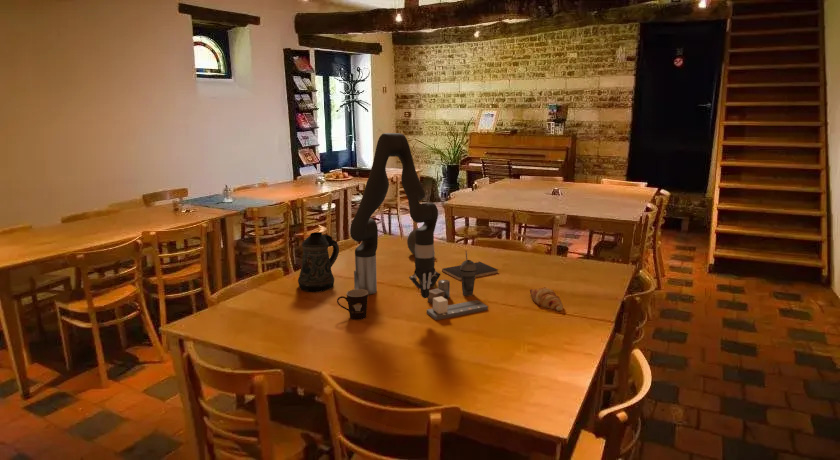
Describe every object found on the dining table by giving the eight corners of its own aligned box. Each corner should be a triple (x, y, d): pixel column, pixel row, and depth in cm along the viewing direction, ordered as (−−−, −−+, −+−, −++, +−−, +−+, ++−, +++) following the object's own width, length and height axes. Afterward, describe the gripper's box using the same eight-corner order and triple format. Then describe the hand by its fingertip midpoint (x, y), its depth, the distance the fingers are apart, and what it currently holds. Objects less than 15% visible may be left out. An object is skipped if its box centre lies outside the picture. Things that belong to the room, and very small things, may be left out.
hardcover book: (498, 274, 262) (498, 269, 261) (459, 281, 251) (459, 277, 250) (479, 265, 275) (479, 261, 275) (442, 272, 264) (442, 268, 264)
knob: (438, 314, 207) (438, 302, 206) (432, 309, 212) (432, 297, 210) (447, 312, 209) (447, 300, 208) (441, 307, 213) (441, 296, 212)
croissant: (566, 319, 215) (575, 301, 215) (550, 312, 210) (558, 294, 210) (534, 301, 234) (542, 284, 233) (518, 294, 229) (526, 277, 228)
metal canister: (441, 299, 227) (441, 284, 225) (436, 295, 231) (436, 280, 230) (451, 297, 229) (451, 282, 227) (445, 294, 233) (446, 279, 232)
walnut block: (435, 305, 221) (435, 294, 220) (427, 302, 224) (427, 291, 223) (444, 302, 224) (444, 291, 223) (436, 299, 228) (436, 288, 226)
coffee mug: (372, 314, 212) (372, 290, 209) (363, 322, 204) (362, 298, 201) (346, 310, 215) (345, 287, 213) (336, 318, 207) (335, 294, 205)
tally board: (435, 320, 205) (435, 316, 205) (426, 313, 212) (426, 309, 212) (487, 309, 216) (487, 306, 215) (477, 303, 223) (477, 299, 222)
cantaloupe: (405, 258, 287) (404, 231, 283) (409, 250, 300) (409, 225, 297) (430, 259, 284) (430, 232, 281) (434, 252, 298) (434, 226, 294)
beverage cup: (475, 297, 229) (476, 253, 224) (458, 296, 230) (459, 252, 226) (476, 291, 236) (477, 248, 231) (460, 290, 237) (461, 248, 233)
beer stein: (291, 289, 239) (287, 236, 233) (314, 276, 257) (312, 226, 251) (322, 294, 233) (319, 239, 227) (344, 280, 251) (342, 229, 245)
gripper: (435, 250, 208) (435, 291, 212) (404, 254, 202) (405, 297, 206) (444, 254, 201) (444, 297, 205) (413, 259, 195) (414, 303, 199)
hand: (425, 297), depth 206 cm, fingers closed
